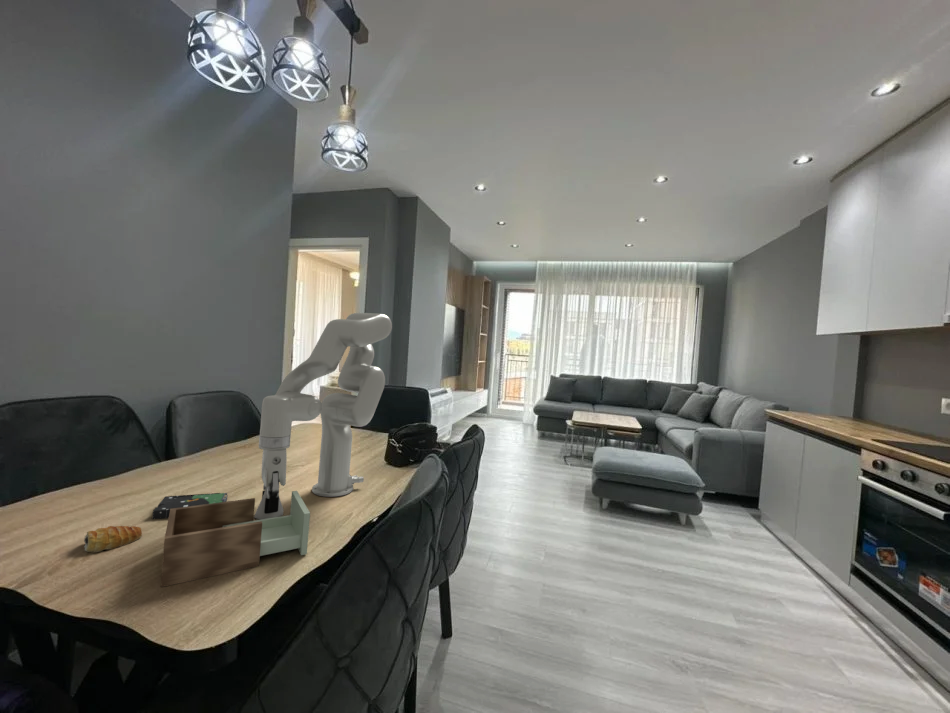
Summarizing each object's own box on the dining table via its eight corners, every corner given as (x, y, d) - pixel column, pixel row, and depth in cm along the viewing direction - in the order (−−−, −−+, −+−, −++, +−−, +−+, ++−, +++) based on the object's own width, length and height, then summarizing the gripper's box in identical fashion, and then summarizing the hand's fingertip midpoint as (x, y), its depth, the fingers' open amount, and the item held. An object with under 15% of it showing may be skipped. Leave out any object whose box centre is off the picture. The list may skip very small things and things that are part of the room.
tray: (294, 526, 98) (297, 490, 98) (306, 554, 86) (310, 513, 86) (221, 539, 89) (224, 499, 89) (223, 572, 77) (227, 526, 77)
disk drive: (151, 522, 97) (221, 515, 103) (152, 511, 97) (222, 504, 103) (163, 506, 106) (227, 500, 112) (164, 496, 106) (228, 491, 112)
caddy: (251, 535, 93) (254, 498, 93) (258, 565, 81) (262, 523, 81) (167, 550, 84) (170, 508, 84) (160, 587, 71) (164, 538, 71)
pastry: (138, 531, 91) (139, 515, 91) (144, 542, 86) (146, 525, 86) (81, 545, 83) (82, 527, 83) (85, 557, 79) (87, 539, 79)
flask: (261, 509, 108) (264, 473, 108) (288, 510, 108) (291, 474, 108) (248, 520, 100) (251, 482, 100) (277, 521, 101) (280, 483, 101)
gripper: (296, 448, 100) (290, 518, 100) (284, 434, 113) (279, 495, 114) (263, 450, 95) (257, 523, 95) (255, 435, 109) (250, 499, 109)
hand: (269, 507), depth 104 cm, fingers closed on flask, 5 cm apart
